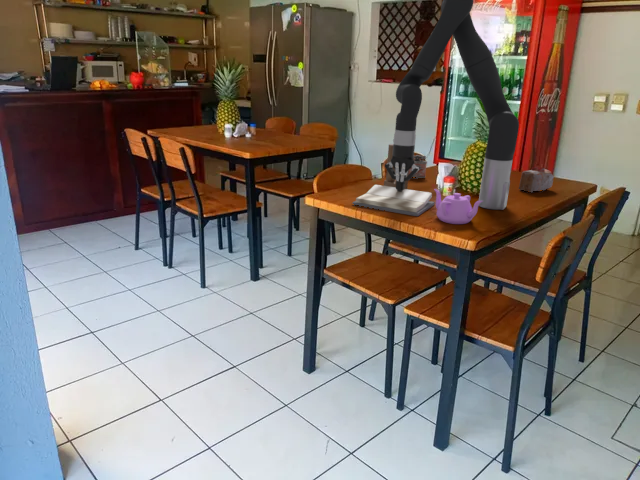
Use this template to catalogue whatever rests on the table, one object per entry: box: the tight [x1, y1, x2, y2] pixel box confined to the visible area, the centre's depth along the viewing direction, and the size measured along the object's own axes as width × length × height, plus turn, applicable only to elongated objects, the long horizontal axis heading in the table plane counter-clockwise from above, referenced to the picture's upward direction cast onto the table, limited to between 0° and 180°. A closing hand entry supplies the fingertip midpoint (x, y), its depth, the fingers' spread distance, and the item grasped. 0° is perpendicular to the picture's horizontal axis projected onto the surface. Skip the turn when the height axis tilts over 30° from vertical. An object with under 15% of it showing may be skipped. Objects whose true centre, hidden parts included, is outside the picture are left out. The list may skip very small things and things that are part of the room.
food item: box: [518, 166, 555, 193], centre depth 205 cm, size 14×8×10 cm, turn 125°
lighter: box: [409, 154, 428, 179], centre depth 221 cm, size 8×3×10 cm, turn 80°
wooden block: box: [383, 143, 409, 189], centre depth 193 cm, size 4×11×18 cm, turn 29°
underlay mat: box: [352, 200, 436, 217], centre depth 177 cm, size 24×18×1 cm
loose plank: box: [365, 184, 433, 206], centre depth 180 cm, size 22×8×2 cm, turn 61°
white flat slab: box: [355, 193, 424, 212], centre depth 173 cm, size 22×8×2 cm, turn 61°
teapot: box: [433, 188, 483, 225], centre depth 161 cm, size 12×14×9 cm
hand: (399, 191), depth 181 cm, fingers closed
